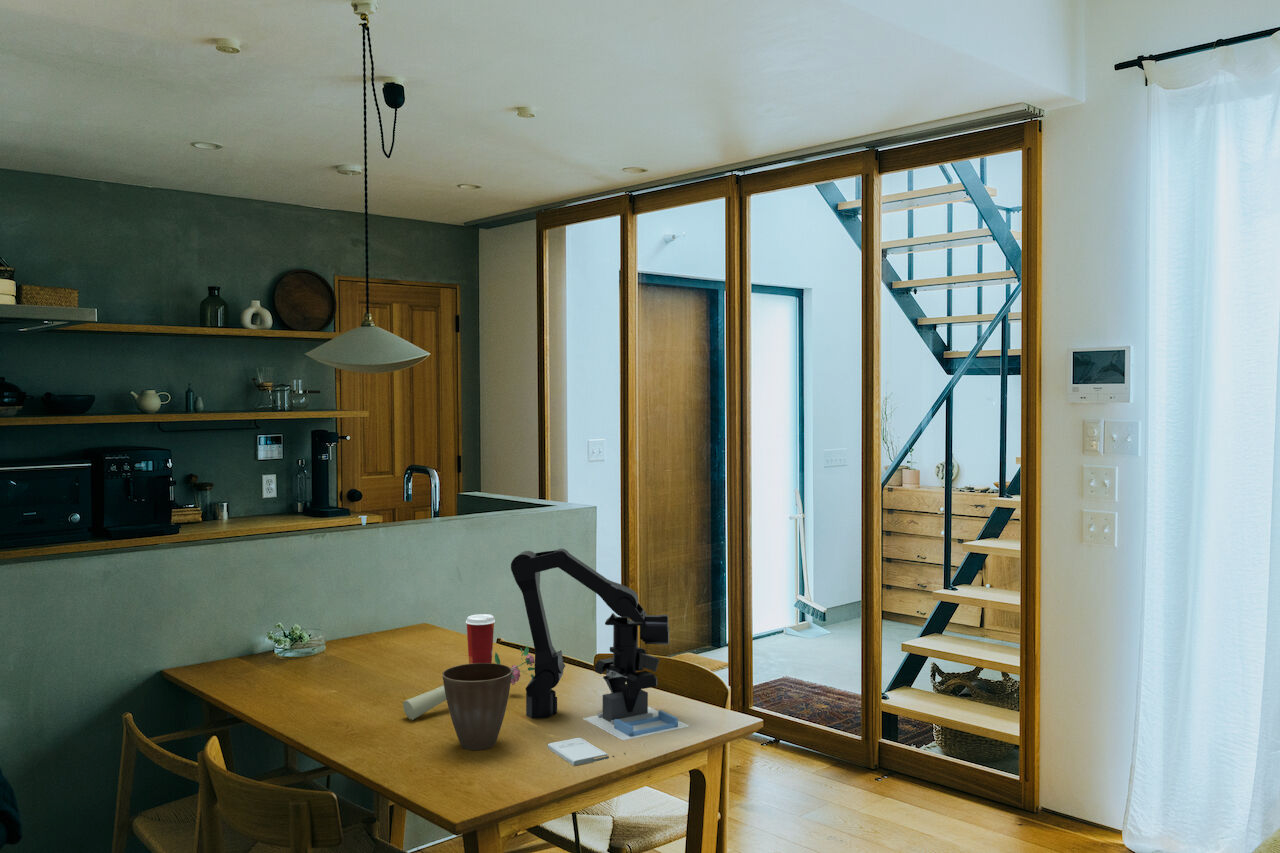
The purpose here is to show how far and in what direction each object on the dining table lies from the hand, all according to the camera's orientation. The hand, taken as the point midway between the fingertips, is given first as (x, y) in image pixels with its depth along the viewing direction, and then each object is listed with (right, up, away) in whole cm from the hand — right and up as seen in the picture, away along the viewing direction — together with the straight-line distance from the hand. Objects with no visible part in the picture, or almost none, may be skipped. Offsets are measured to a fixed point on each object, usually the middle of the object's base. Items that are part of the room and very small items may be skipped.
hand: (625, 709), depth 230 cm
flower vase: (-38, -3, +11) cm, 40 cm away
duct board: (+2, -3, -4) cm, 5 cm away
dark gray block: (0, -2, 0) cm, 2 cm away
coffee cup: (-41, -2, +44) cm, 60 cm away
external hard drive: (-10, -4, -22) cm, 24 cm away
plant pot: (-32, -3, -17) cm, 36 cm away
